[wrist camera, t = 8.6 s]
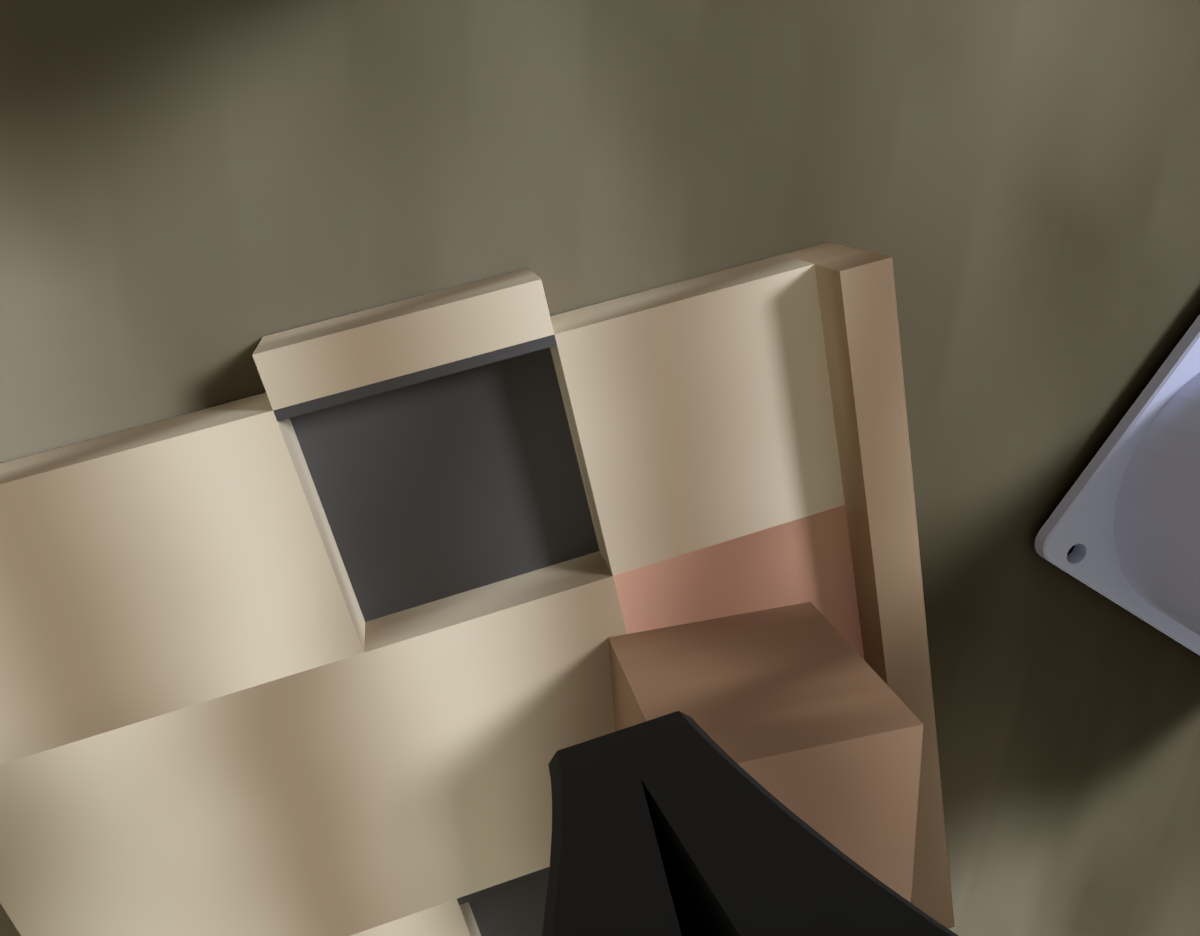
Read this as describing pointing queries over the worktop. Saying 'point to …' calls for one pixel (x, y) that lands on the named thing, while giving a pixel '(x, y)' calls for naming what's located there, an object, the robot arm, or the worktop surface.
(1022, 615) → the worktop surface
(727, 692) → the walnut block
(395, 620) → the trap board
